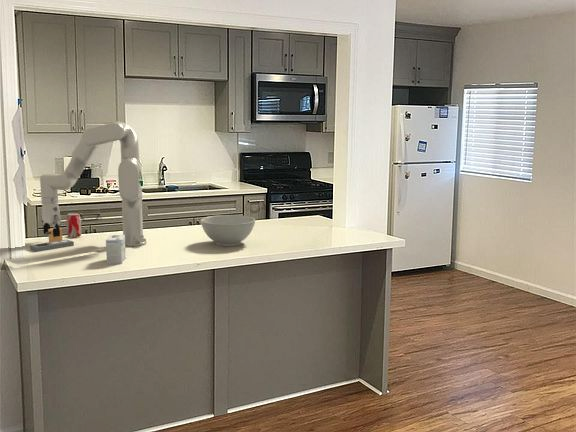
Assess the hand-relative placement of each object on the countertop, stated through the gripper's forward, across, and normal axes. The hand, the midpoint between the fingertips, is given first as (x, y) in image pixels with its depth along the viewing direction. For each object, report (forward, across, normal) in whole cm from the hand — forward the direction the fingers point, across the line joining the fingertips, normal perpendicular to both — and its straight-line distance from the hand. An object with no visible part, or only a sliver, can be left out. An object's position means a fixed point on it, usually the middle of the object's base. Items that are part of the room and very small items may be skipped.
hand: (51, 235), depth 314 cm
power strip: (+5, -10, +5) cm, 12 cm away
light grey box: (+6, -49, -5) cm, 50 cm away
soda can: (+6, +12, -18) cm, 22 cm away
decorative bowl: (+6, -57, -63) cm, 85 cm away
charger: (+5, 0, -2) cm, 6 cm away
